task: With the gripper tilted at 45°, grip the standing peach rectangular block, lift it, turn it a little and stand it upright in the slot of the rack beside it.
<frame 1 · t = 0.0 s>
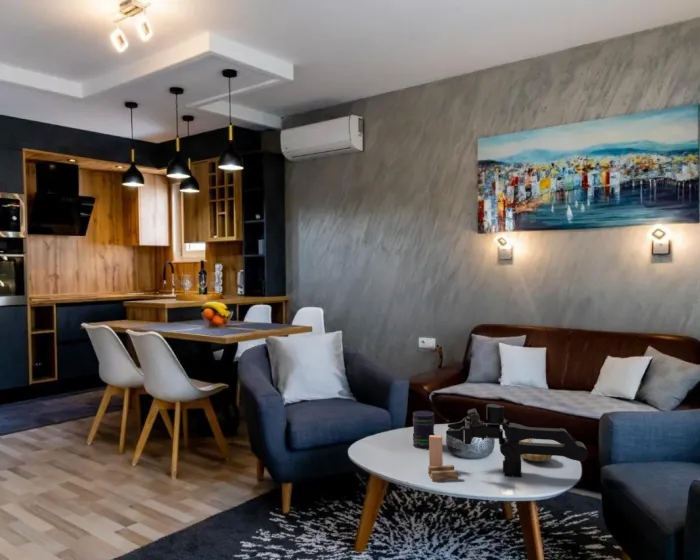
hand: (446, 428, 229), 17 cm above the table, tool horizontal, fingers open, 9 cm apart
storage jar: (423, 446, 261), on the table
nautilus: (532, 458, 242), on the table
rack: (442, 477, 221), on the table
peach rectangular block: (436, 468, 231), on the table
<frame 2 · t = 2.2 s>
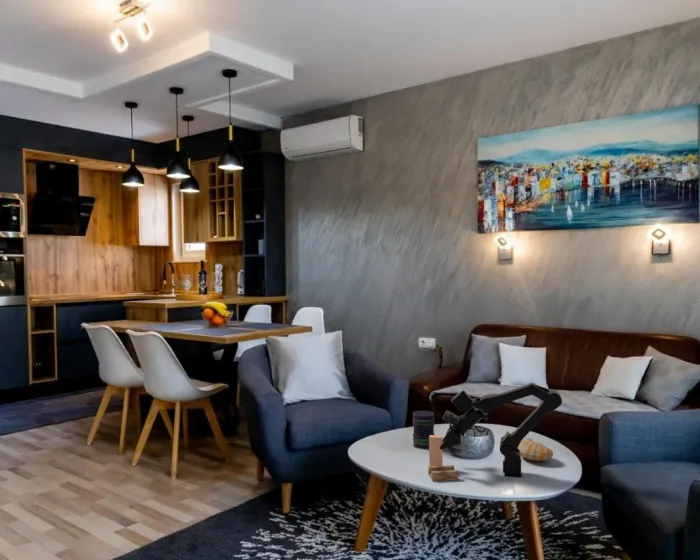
hand: (441, 445, 231), 10 cm above the table, tool tilted 45°, fingers open, 9 cm apart
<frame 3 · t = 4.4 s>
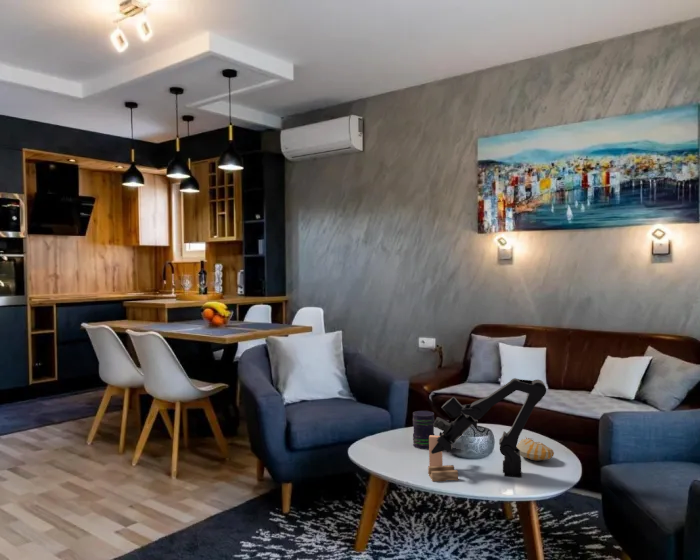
hand: (432, 451, 232), 7 cm above the table, tool tilted 45°, fingers closed on peach rectangular block, 3 cm apart
peach rectangular block: (436, 468, 231), on the table, touching gripper
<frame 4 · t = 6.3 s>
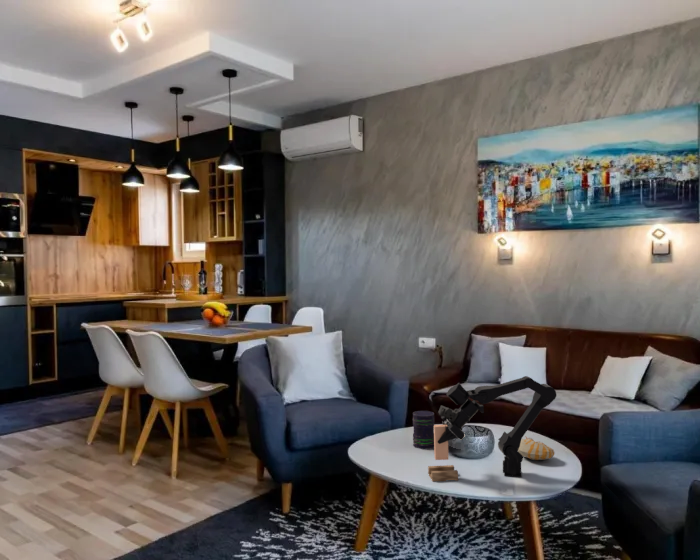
hand: (437, 441, 222), 13 cm above the table, tool tilted 45°, fingers closed on peach rectangular block, 2 cm apart
peach rectangular block: (441, 458, 223), point 7 cm above the table, touching gripper
when the fingers open (8 cm above the table, at t = 8.2 s): peach rectangular block drops 1 cm, resting on rack.
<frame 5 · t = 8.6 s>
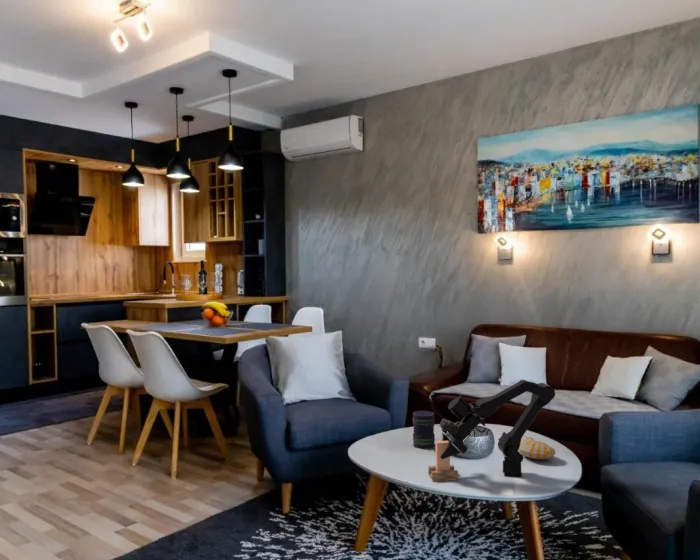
hand: (439, 455, 221), 9 cm above the table, tool tilted 45°, fingers open, 7 cm apart
peach rectangular block: (442, 475, 221), point 1 cm above the table, touching rack
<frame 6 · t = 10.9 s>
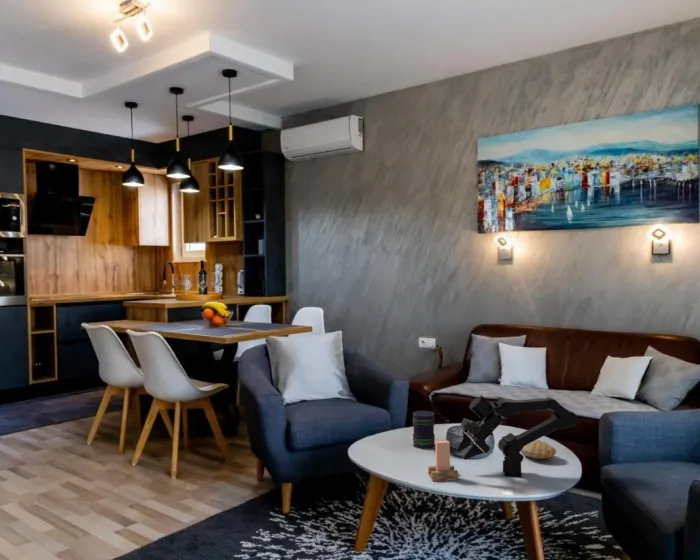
hand: (460, 454, 222), 8 cm above the table, tool tilted 45°, fingers open, 9 cm apart
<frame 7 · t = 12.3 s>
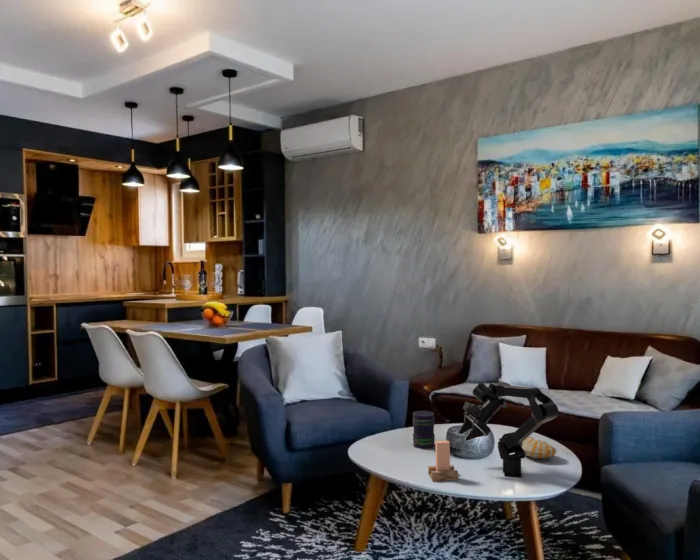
hand: (462, 436, 231), 13 cm above the table, tool tilted 45°, fingers open, 9 cm apart
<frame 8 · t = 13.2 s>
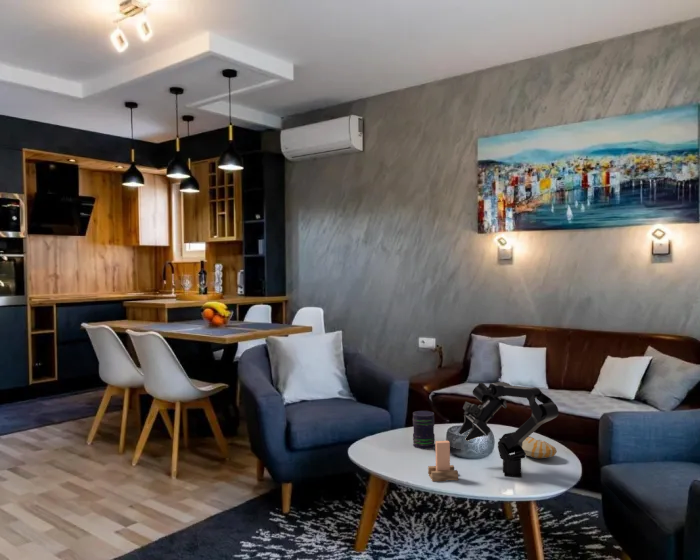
hand: (462, 436, 231), 13 cm above the table, tool tilted 45°, fingers open, 9 cm apart
at the end: peach rectangular block 0.0 cm off-centre on the rack, point 0.8 cm above the rack's base; peach rectangular block tilted 0°; the gripper is holding nothing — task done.
